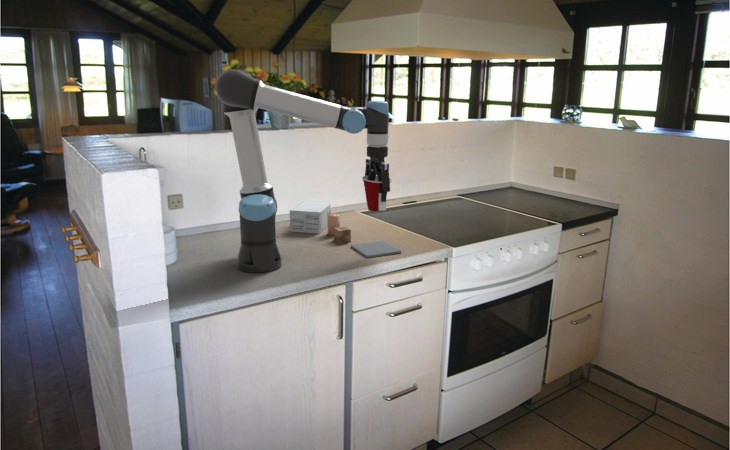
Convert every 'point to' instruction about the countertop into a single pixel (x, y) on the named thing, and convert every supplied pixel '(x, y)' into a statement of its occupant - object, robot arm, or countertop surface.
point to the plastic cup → (372, 193)
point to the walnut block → (342, 234)
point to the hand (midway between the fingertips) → (376, 207)
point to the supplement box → (309, 217)
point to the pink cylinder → (333, 223)
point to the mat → (375, 249)
